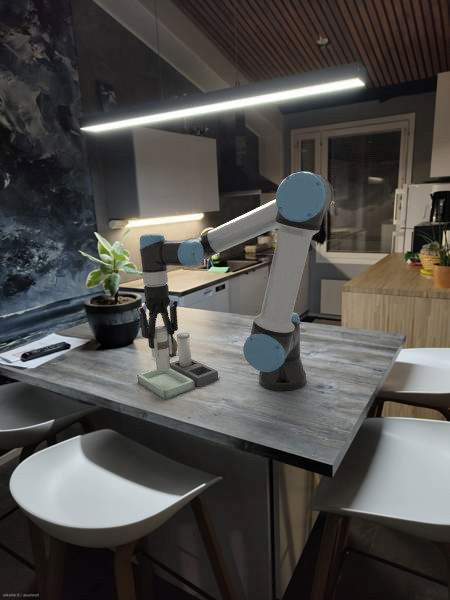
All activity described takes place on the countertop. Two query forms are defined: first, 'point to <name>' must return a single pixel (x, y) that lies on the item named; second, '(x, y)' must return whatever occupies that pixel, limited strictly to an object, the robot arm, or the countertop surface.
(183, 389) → the tray
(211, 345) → the countertop surface
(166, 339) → the cylinder
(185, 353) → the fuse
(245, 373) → the countertop surface
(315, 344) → the countertop surface
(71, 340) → the countertop surface
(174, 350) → the vase
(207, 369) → the fuse block
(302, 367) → the robot arm
